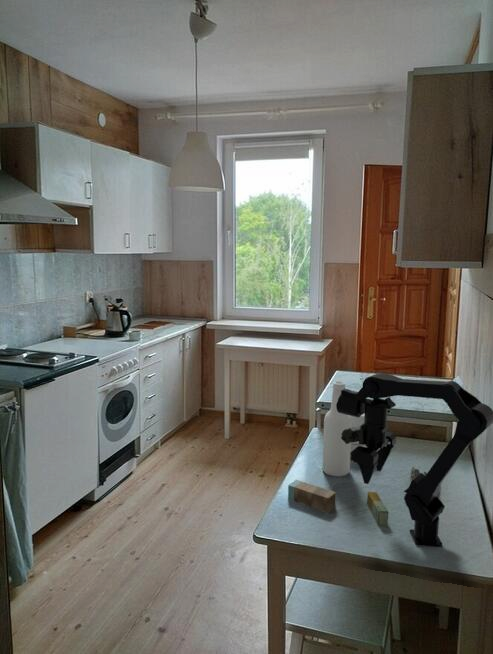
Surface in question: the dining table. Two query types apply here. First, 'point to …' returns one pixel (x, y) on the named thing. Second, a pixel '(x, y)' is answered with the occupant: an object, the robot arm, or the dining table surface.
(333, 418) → the alcohol
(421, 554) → the dining table surface
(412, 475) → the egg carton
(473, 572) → the dining table surface
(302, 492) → the wooden block
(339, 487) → the dining table surface
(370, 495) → the medication box
